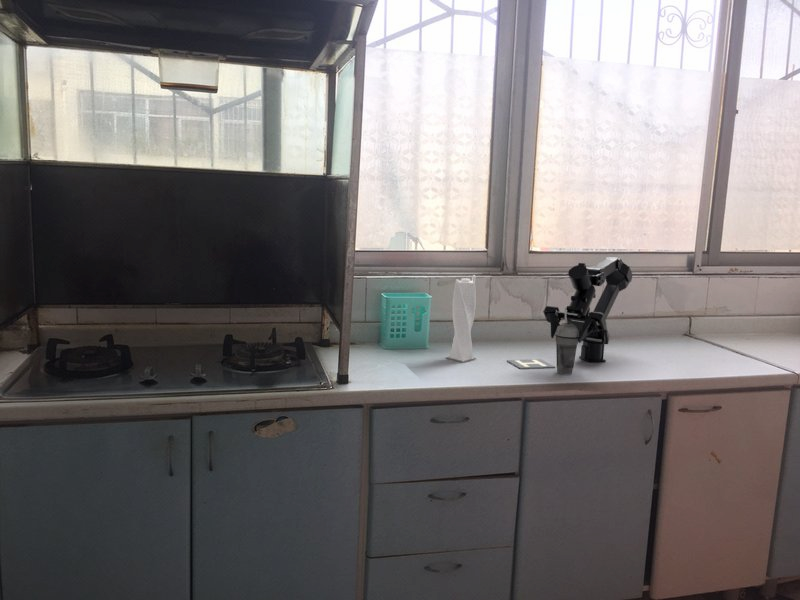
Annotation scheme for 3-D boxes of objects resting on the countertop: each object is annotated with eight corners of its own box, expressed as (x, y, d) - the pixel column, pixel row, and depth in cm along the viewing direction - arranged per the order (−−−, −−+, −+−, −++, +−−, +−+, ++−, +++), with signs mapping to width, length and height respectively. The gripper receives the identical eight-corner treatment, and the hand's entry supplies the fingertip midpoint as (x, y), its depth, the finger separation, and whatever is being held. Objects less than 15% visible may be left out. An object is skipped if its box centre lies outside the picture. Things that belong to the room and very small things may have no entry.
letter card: (540, 360, 226) (540, 358, 226) (555, 367, 216) (555, 366, 216) (506, 361, 223) (506, 360, 223) (520, 369, 213) (520, 367, 213)
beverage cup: (577, 376, 206) (582, 311, 203) (552, 374, 208) (557, 309, 205) (576, 370, 214) (581, 307, 210) (552, 368, 215) (556, 305, 212)
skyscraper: (479, 360, 223) (484, 274, 219) (464, 364, 217) (469, 276, 213) (459, 355, 228) (463, 271, 224) (443, 359, 223) (448, 273, 218)
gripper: (616, 319, 215) (600, 360, 208) (560, 311, 226) (543, 349, 219) (609, 297, 208) (592, 338, 200) (551, 290, 218) (534, 329, 211)
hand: (565, 339), depth 208 cm, fingers open, 8 cm apart
